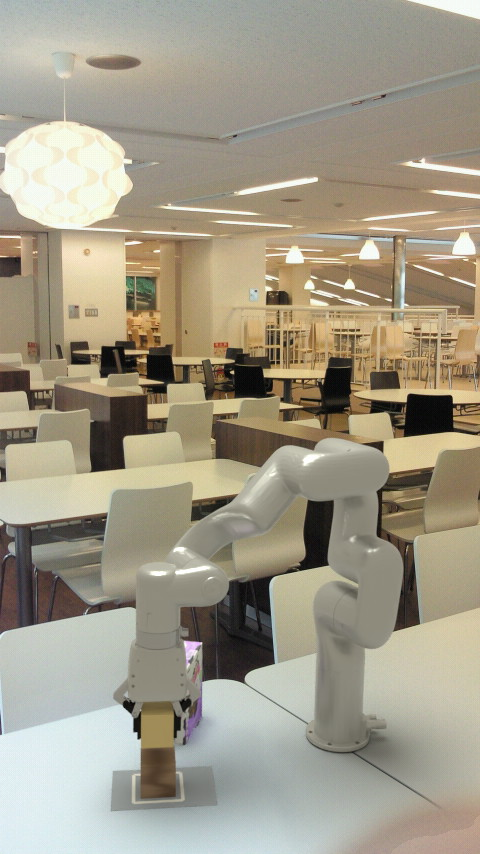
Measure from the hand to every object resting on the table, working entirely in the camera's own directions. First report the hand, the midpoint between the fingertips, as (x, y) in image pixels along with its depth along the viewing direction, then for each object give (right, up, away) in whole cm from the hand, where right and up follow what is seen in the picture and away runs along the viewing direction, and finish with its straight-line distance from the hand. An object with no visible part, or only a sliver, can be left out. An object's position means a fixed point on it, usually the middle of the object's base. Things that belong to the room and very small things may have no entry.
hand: (156, 733), depth 146 cm
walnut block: (0, -10, +2) cm, 10 cm away
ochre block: (0, -1, 0) cm, 1 cm away
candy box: (+2, -8, +23) cm, 25 cm away
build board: (+1, -11, +2) cm, 11 cm away
